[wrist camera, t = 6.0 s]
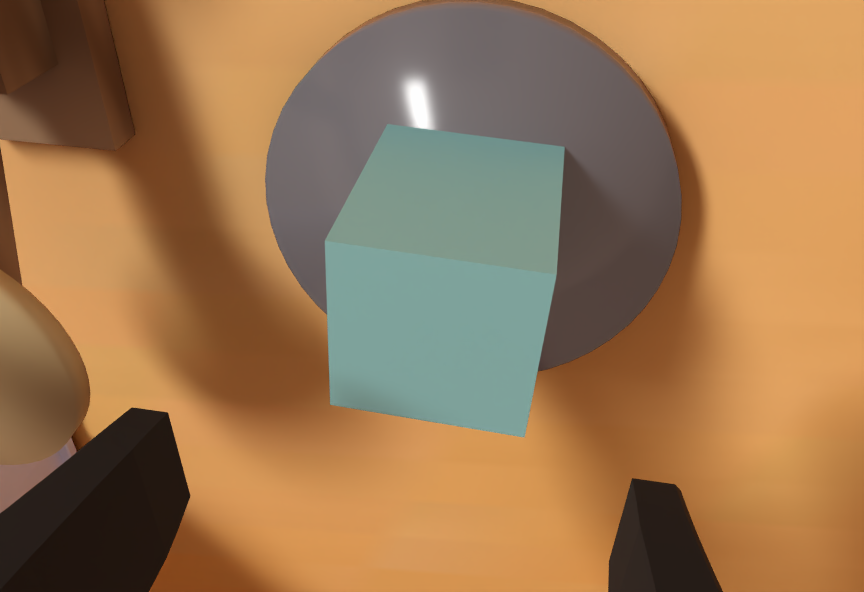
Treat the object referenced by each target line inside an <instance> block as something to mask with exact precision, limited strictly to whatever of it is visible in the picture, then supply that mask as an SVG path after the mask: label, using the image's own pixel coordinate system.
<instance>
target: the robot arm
mask: <svg viewBox="0 0 864 592" xmlns="http://www.w3.org/2000/svg"><path fill="white" fill-rule="evenodd" d="M189 498H190V493H189V489H188V486H187V482H186V478H185V475H184V471H183V467H182V463H181V460H180V456H179V452H178V448H177V445H176V441H175V437H174V434H173V430H172V426H171V422H170V419H169V415H168V413H167V412H160V411H153V410H146V409H139V408H131V409H129V410H128V411H127V412H126V413H124V414H123V415H122V416H121V417H119V418H118V419H117V420H116V421H114V422H113V423H112V424H111V425H109V426H108V427H107V428H106V429H104V430H103V431H102V432H101V433H99V434H98V435H97V436H96V437H95V438H93V439H92V440H91V441H90V442H88V443H87V444H86V445H85V446H84V447H82V448H81V449H80V450H79V451H76V448H75V446H74V443H73V441H72V438H70V439H69V441H68V442H67V443H66V444H65V445H64V446H63V447H62V448H61V449H60V450H59V451H58V452H56V453H55V454H53V455H52V456H50V457H48V458H45V459H43V460H41V461H37V462H33V463H28V464H19V465H0V592H149V590H150V588H151V586H152V584H153V583H154V581H155V579H156V577H157V575H158V573H159V571H160V569H161V567H162V565H163V563H164V561H165V560H166V558H167V555H168V553H169V550H170V548H171V545H172V543H173V540H174V538H175V536H176V533H177V531H178V528H179V525H180V523H181V520H182V517H183V515H184V512H185V509H186V506H187V504H188V501H189ZM608 592H723V591H722V589H721V587H720V585H719V582H718V580H717V578H716V576H715V574H714V571H713V569H712V567H711V565H710V562H709V560H708V558H707V556H706V553H705V551H704V549H703V547H702V544H701V542H700V539H699V537H698V535H697V532H696V530H695V527H694V525H693V522H692V520H691V517H690V515H689V512H688V509H687V507H686V504H685V501H684V499H683V496H682V493H681V491H680V490H679V488H678V487H677V486H676V485H675V484H668V483H661V482H654V481H647V480H640V479H633V478H632V481H631V485H630V488H629V492H628V495H627V499H626V502H625V506H624V510H623V513H622V517H621V520H620V524H619V528H618V531H617V535H616V538H615V542H614V545H613V549H612V553H611V556H610V560H609V587H608Z"/></svg>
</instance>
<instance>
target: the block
mask: <svg viewBox="0 0 864 592" xmlns="http://www.w3.org/2000/svg"><path fill="white" fill-rule="evenodd" d="M564 150H565V147H562V146H555V145H547V144H539V143H531V142H523V141H516V140H508V139H500V138H492V137H484V136H477V135H469V134H461V133H453V132H445V131H438V130H430V129H422V128H414V127H406V126H399V125H391V124H387V126H386V128H385V129H384V131H383V133H382V135H381V137H380V139H379V141H378V143H377V144H376V146H375V148H374V150H373V152H372V154H371V156H370V157H369V159H368V161H367V163H366V165H365V167H364V169H363V170H362V172H361V174H360V176H359V178H358V180H357V182H356V184H355V185H354V187H353V189H352V191H351V193H350V195H349V197H348V198H347V200H346V202H345V204H344V206H343V208H342V210H341V211H340V213H339V215H338V217H337V219H336V221H335V223H334V225H333V226H332V228H331V230H330V232H329V234H328V236H327V238H326V239H325V263H326V293H327V323H328V353H329V383H330V405H335V406H341V407H347V408H353V409H359V410H365V411H371V412H376V413H382V414H388V415H394V416H400V417H406V418H412V419H418V420H424V421H430V422H436V423H442V424H448V425H454V426H460V427H466V428H472V429H477V430H483V431H489V432H495V433H501V434H507V435H513V436H519V437H525V432H526V427H527V422H528V417H529V412H530V407H531V402H532V397H533V392H534V387H535V382H536V377H537V371H538V366H539V361H540V356H541V351H542V346H543V341H544V336H545V331H546V326H547V321H548V316H549V311H550V306H551V301H552V296H553V291H554V286H555V280H556V275H557V261H558V245H559V229H560V214H561V198H562V182H563V166H564Z"/></svg>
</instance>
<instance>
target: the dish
mask: <svg viewBox="0 0 864 592" xmlns="http://www.w3.org/2000/svg"><path fill="white" fill-rule="evenodd" d="M387 124H391V125H399V126H406V127H414V128H422V129H430V130H438V131H445V132H453V133H461V134H469V135H477V136H484V137H492V138H500V139H508V140H516V141H523V142H531V143H539V144H547V145H555V146H562V147H565V150H564V166H563V182H562V198H561V214H560V229H559V245H558V261H557V275H556V280H555V286H554V291H553V296H552V301H551V306H550V311H549V316H548V321H547V326H546V331H545V336H544V341H543V346H542V351H541V356H540V361H539V366H538V371H542V370H546V369H550V368H553V367H555V366H558V365H561V364H564V363H567V362H570V361H572V360H574V359H576V358H579V357H581V356H583V355H585V354H587V353H589V352H591V351H593V350H594V349H596V348H598V347H599V346H601V345H602V344H604V343H606V342H607V341H609V340H610V339H612V338H613V337H614V336H615V335H617V334H618V333H619V332H620V331H622V330H623V329H624V328H625V327H627V326H628V325H629V324H630V323H631V322H632V321H633V320H634V318H635V317H636V316H637V315H638V314H639V313H640V312H641V311H642V310H643V309H644V308H645V306H646V305H647V304H648V302H649V301H650V300H651V298H652V297H653V295H654V294H655V293H656V291H657V290H658V288H659V286H660V284H661V282H662V280H663V278H664V277H665V275H666V273H667V271H668V269H669V266H670V263H671V260H672V257H673V255H674V252H675V249H676V246H677V240H678V235H679V229H680V224H681V189H680V182H679V174H678V168H677V163H676V158H675V154H674V149H673V146H672V143H671V139H670V136H669V133H668V129H667V126H666V124H665V121H664V119H663V117H662V115H661V113H660V111H659V109H658V107H657V105H656V102H655V100H654V99H653V97H652V96H651V95H650V93H649V92H648V90H647V89H646V87H645V86H644V84H643V83H642V81H641V80H640V78H639V77H638V76H637V75H636V74H635V72H634V71H633V70H632V69H631V68H630V67H629V66H628V65H627V64H626V63H625V61H624V60H623V59H622V58H621V57H620V56H619V55H618V54H617V53H615V52H614V51H613V50H612V49H610V48H609V47H608V46H607V45H606V44H604V43H603V42H602V41H601V40H600V39H598V38H597V37H596V36H594V35H592V34H591V33H589V32H587V31H586V30H584V29H583V28H581V27H579V26H578V25H576V24H574V23H573V22H571V21H569V20H567V19H564V18H562V17H560V16H558V15H555V14H553V13H551V12H548V11H546V10H544V9H541V8H537V7H534V6H530V5H527V4H523V3H520V2H516V1H512V0H422V1H419V2H415V3H412V4H408V5H405V6H401V7H398V8H394V9H392V10H390V11H388V12H385V13H383V14H381V15H379V16H376V17H374V18H372V19H370V20H368V21H366V22H365V23H363V24H362V25H360V26H358V27H357V28H355V29H354V30H352V31H351V32H349V33H347V34H346V35H345V36H343V37H342V38H341V39H340V40H339V41H338V42H337V43H335V44H334V45H333V46H332V47H331V48H330V49H329V50H327V51H326V52H325V53H324V55H323V56H322V57H321V58H320V59H319V60H318V61H317V63H316V64H315V65H314V66H313V67H312V68H311V70H310V71H309V72H308V73H307V74H306V76H305V77H304V78H303V79H302V80H301V81H300V83H299V84H298V85H297V86H296V87H295V89H294V91H293V92H292V94H291V96H290V97H289V99H288V101H287V102H286V104H285V106H284V107H283V109H282V111H281V114H280V116H279V119H278V121H277V123H276V126H275V128H274V131H273V134H272V138H271V142H270V146H269V151H268V155H267V165H266V176H265V182H266V200H267V206H268V211H269V216H270V221H271V226H272V229H273V231H274V234H275V237H276V240H277V243H278V246H279V248H280V250H281V252H282V254H283V256H284V258H285V261H286V263H287V265H288V267H289V268H290V270H291V271H292V273H293V274H294V276H295V277H296V279H297V281H298V282H299V284H300V285H301V287H302V288H303V289H304V290H305V291H306V293H307V294H308V295H309V296H310V298H311V299H312V300H313V301H314V302H315V304H316V305H317V306H318V307H320V308H321V309H322V310H323V311H324V312H325V313H326V314H327V293H326V263H325V239H326V238H327V236H328V234H329V232H330V230H331V228H332V226H333V225H334V223H335V221H336V219H337V217H338V215H339V213H340V211H341V210H342V208H343V206H344V204H345V202H346V200H347V198H348V197H349V195H350V193H351V191H352V189H353V187H354V185H355V184H356V182H357V180H358V178H359V176H360V174H361V172H362V170H363V169H364V167H365V165H366V163H367V161H368V159H369V157H370V156H371V154H372V152H373V150H374V148H375V146H376V144H377V143H378V141H379V139H380V137H381V135H382V133H383V131H384V129H385V128H386V126H387Z"/></svg>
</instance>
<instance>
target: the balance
mask: <svg viewBox="0 0 864 592" xmlns="http://www.w3.org/2000/svg"><path fill="white" fill-rule="evenodd" d="M134 135H135V132H134V127H133V123H132V119H131V115H130V110H129V106H128V102H127V98H126V93H125V89H124V85H123V81H122V76H121V72H120V68H119V63H118V59H117V55H116V51H115V46H114V42H113V38H112V34H111V29H110V25H109V21H108V16H107V12H106V8H105V4H104V0H0V139H3V140H13V141H23V142H33V143H43V144H52V145H62V146H72V147H82V148H92V149H102V150H112V151H116V150H117V149H118V148H119V147H121V146H122V145H123V144H124V143H125V142H126V141H128V140H129V139H130V138H131V137H132V136H134ZM89 402H90V386H89V379H88V375H87V371H86V368H85V365H84V363H83V361H82V358H81V356H80V353H79V352H78V350H77V348H76V346H75V345H74V343H73V341H72V339H71V338H70V336H69V335H68V334H67V332H66V331H65V329H64V328H63V327H62V325H61V324H60V323H59V321H58V320H57V319H56V318H55V317H54V316H53V315H52V313H51V312H50V311H49V310H48V309H47V308H46V307H45V306H44V305H43V304H42V303H41V302H40V301H39V300H38V299H37V298H36V297H35V296H34V295H33V294H32V293H30V292H29V291H28V290H27V289H26V288H24V287H23V286H22V281H21V274H20V268H19V262H18V255H17V249H16V243H15V237H14V230H13V224H12V218H11V211H10V205H9V199H8V193H7V186H6V180H5V174H4V167H3V161H2V155H1V149H0V465H19V464H28V463H33V462H37V461H41V460H43V459H45V458H48V457H50V456H52V455H53V454H55V453H56V452H58V451H59V450H60V449H61V448H62V447H63V446H64V445H65V444H66V443H67V442H68V441H69V439H70V438H71V437H72V435H73V434H74V433H75V431H76V430H77V429H78V427H79V426H80V425H81V423H82V421H83V420H84V418H85V416H86V414H87V411H88V407H89Z"/></svg>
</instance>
